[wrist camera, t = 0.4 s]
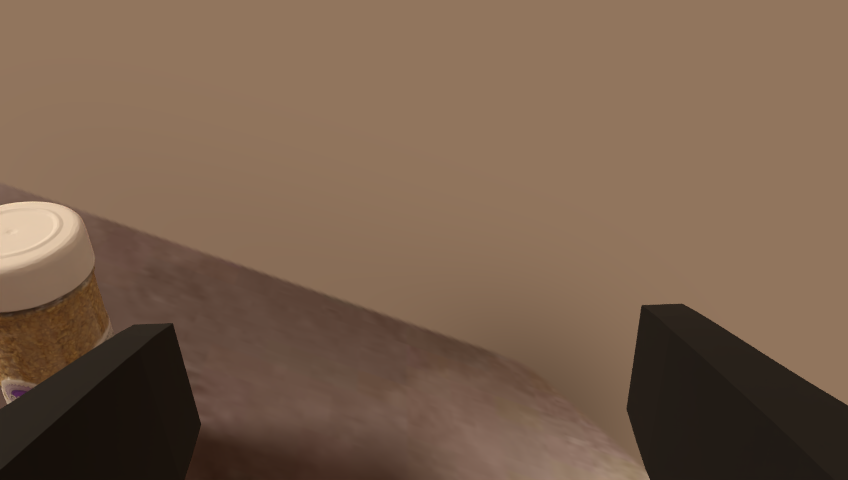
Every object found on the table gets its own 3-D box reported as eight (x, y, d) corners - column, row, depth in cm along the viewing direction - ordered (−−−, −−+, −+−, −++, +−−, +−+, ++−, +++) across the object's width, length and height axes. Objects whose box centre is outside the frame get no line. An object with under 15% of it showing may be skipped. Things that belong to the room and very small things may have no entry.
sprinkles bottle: (28, 508, 26) (-102, 273, 18) (61, 422, 29) (-35, 196, 22) (138, 496, 27) (60, 268, 19) (157, 415, 30) (98, 195, 23)
